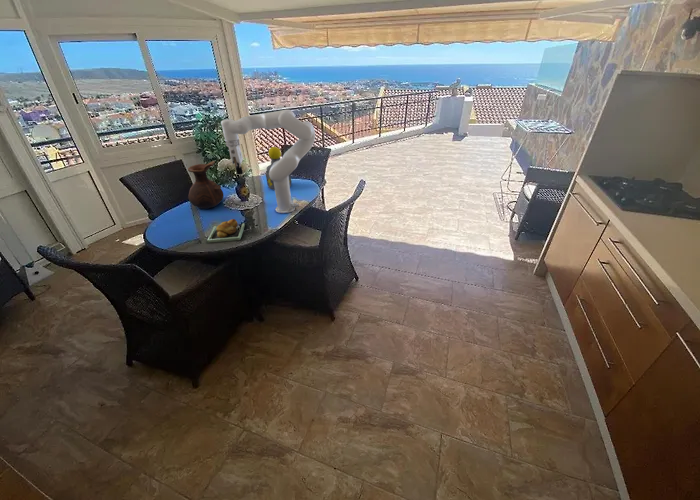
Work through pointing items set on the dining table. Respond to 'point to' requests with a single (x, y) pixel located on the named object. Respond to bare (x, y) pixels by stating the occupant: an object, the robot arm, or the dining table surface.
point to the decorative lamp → (274, 156)
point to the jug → (204, 188)
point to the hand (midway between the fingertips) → (240, 173)
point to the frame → (224, 238)
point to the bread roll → (226, 228)
